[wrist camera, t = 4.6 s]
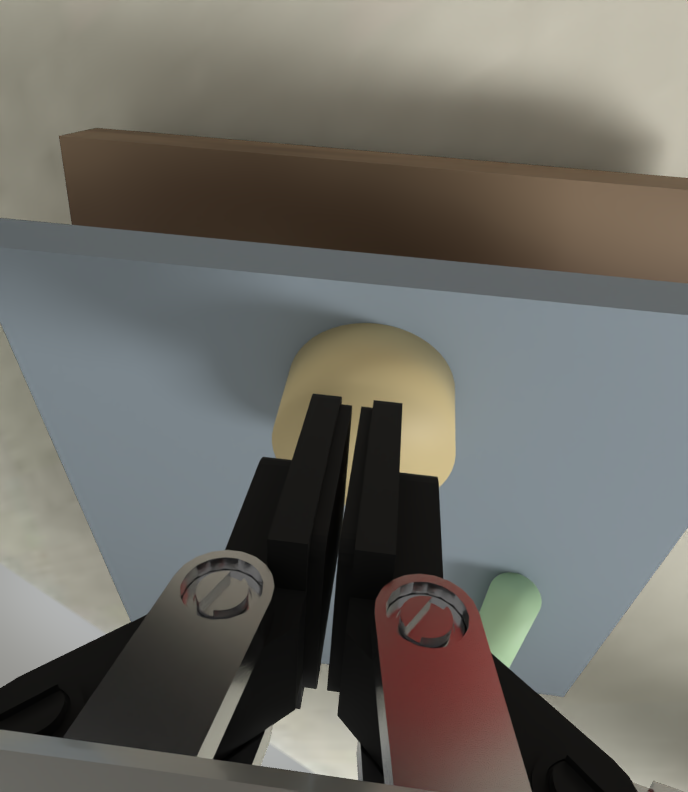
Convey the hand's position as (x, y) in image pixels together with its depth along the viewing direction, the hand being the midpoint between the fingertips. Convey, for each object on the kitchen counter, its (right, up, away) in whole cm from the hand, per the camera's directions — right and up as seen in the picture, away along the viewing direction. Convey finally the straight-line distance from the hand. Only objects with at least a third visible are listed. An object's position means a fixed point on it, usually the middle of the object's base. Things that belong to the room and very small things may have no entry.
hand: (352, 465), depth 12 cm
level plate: (0, -2, +9) cm, 9 cm away
